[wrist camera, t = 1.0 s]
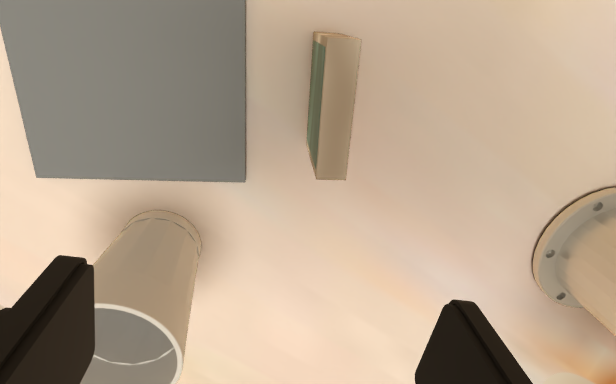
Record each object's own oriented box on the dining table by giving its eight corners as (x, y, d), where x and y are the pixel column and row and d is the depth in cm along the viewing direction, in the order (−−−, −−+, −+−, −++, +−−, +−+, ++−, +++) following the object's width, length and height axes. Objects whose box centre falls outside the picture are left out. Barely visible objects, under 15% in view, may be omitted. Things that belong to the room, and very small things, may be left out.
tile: (339, 33, 27) (361, 39, 20) (329, 145, 30) (345, 180, 24) (312, 31, 27) (326, 37, 20) (305, 144, 30) (315, 179, 24)
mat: (245, -24, 25) (244, -25, 24) (245, 179, 31) (245, 182, 30) (-11, -45, 23) (-17, -46, 23) (40, 174, 29) (36, 177, 28)
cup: (106, 197, 30) (14, 301, 19) (211, 203, 31) (181, 305, 20) (115, 282, 33) (41, 411, 23) (210, 284, 34) (184, 410, 24)
